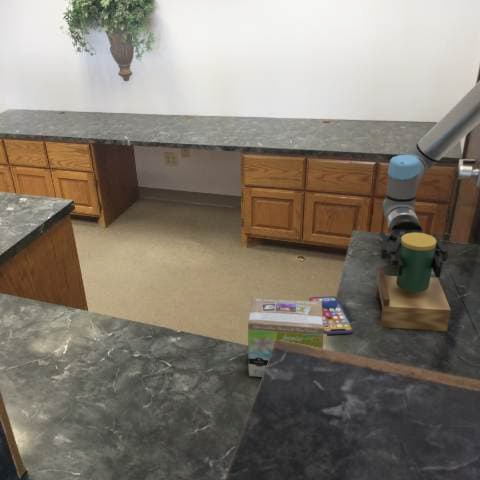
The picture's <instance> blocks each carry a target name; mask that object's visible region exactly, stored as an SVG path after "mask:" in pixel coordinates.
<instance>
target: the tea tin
mask: <svg viewBox="0 0 480 480" xmlns="http://www.w3.org/2000/svg"><path fill="white" fill-rule="evenodd" d="M424 233H425V232H423V233H407V234H405V235H403V236H402V237H401V249H400V251H399V253H400V256H401V260H402V263H403V271H402V276H398V272H397V274H396V276H397V281H396V283H397V285H398V286H399V287H400V288H402V289H404V290H406V291H410V292H422V291H425V290H427V289H428V288H429V283H430V278H431V276H432V271H433V269H432V264H433V258H434V251H435V246H436V242H437V241H436V239H435V238H434V237H432V236H433V235H430V234H427V233H425V234H424Z"/></svg>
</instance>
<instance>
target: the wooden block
mask: <svg viewBox="0 0 480 480" xmlns="http://www.w3.org/2000/svg"><path fill="white" fill-rule="evenodd" d="M376 274H377V275H376V283H375V291H374V292H375V293H374V295H375V296H374V297H375V299H380V303H381V315H380V317H381V318H380V327H381V328H391V329H406V330H418V331H419V330H420V331H421V330H422V331H434V332H435V331H436V332H448V328H449V323H450V318H451V317H450V316H451V311H452V309H451V307H450V305H449V302H448V299H447V297H446V295H445V292H444V290H443V286H442V284H441V282H440V280H439V277H430V283H429V288H428V289H427V290H425V291H422V292H410V291H406V290H404V289H402V288H400V287H399V286H398V285H397V283H396V281H397V275H385V272H384V269H383V268H377V272H376Z"/></svg>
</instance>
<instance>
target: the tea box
mask: <svg viewBox="0 0 480 480" xmlns="http://www.w3.org/2000/svg"><path fill="white" fill-rule="evenodd" d="M323 332H324V328H323V313H322V301H309V300H306V299H305V300H304V299H287V298H270V297H269V298H268V297H254V296H253V297H251V301H250V309H249V315H248V323H247V348H248V349H247V351H248V352H247V353H248V355H247V356H248V357H247V359H248V360H247V361H248V363H247V364H248V377H258V378H263V377H262V375H263V372H264V369H265V367H266V365H267V363H268V359H269V357H270V355H271V350H272V347H273V342H274V341H275V340H284V341H289V342H295V343H300V344H305V345H310V346H314V347H319V348H322V349H323V344H324V333H323Z"/></svg>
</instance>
